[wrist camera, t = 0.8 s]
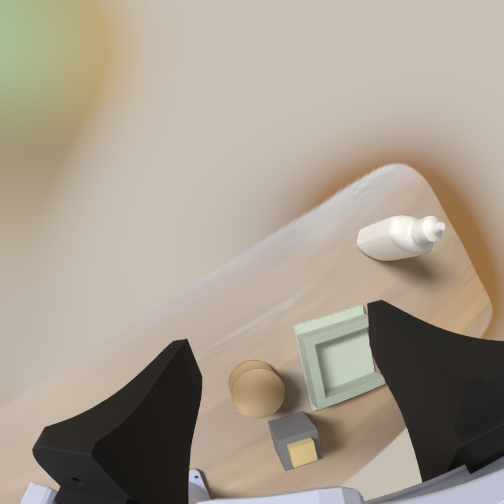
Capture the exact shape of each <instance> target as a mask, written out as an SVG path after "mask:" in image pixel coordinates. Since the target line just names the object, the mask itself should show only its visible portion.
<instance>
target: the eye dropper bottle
mask: <svg viewBox="0 0 504 504" xmlns="http://www.w3.org/2000/svg"><path fill="white" fill-rule="evenodd" d="M443 230H445V224H444V223H443V222H439V221H438V219H437V218H435V217H433V216H427V217H424V218H422V219H416V218H414V217H410V216H393V217H390V218H387V219H384V220H382V221H379V222H377V223H374V224H372V225H370V226H367V227H365V228H362V229H361V230H360V231H359V235H358V239H357V246H358V248H359V249H360V250H361V251H362V252H363V253H365V254H366V255H367V256H369V257H371V258H373V259H376V260H381V261H393V260H398V259H404V258H409V257H415V256H420V255H424V254H428V253H429V252H431V250H432V247H433V243H436V242H438V241H439V240H440V238H441V236H442V231H443Z"/></svg>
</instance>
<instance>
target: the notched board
mask: <svg viewBox="0 0 504 504" xmlns="http://www.w3.org/2000/svg"><path fill="white" fill-rule="evenodd" d="M367 327H369V324H368V314H364V310H363V305H357V306H354V307H351V308H348V309H345V310H342V311H338V312H335V313H332V314H329V315H325V316H322V317H319V318H315V319H312V320H308V321H305V322H302V323H298V324H294V325H293V329H294V333H295V338H296V342H297V346H298V351H299V355H300V360H301V364H302V369H303V373H304V378H305V382H306V387H307V391H308V396H309V401H310V405H311V409H312V410H313V411H315V410H320V409H323V408H325V407H328V406H331V405H334V404H337V403H339V402H342V401H344V400H347V399H350V398H352V397H355V396H357V395H360V394H362V393H365V392H367V391H369V390H372V389H374V388H377V387H379V386H381V385H383V384H385V379H384V378H383V376H382V375H381V374H379V373H377V372H375V371H374V365H373V359H372V353H371V348H370V346H369V336H368V331H367Z"/></svg>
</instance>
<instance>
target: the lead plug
mask: <svg viewBox="0 0 504 504" xmlns="http://www.w3.org/2000/svg"><path fill="white" fill-rule="evenodd" d="M268 424H269V428H270V431H271V435H272V439H273V443H274V446H275V450H276V452H277V454H278V456H279V458H280V461H281V463H282V465H283V467H284V469H285V471H287V470H291V469H294V468H297V467H300V466H303V465H306V464H309V463H312V462H315V461H318V460H321V459H323V455H322V450H321V446H320V441H319V436H318V431H317V428H316V426H315V425H314V424H313V423H312V422H311V421H310V419H309V418H308V417H307V416H306V415H305V413H304V412H303V411H302V412H298V413H295V414H292V415H289V416H285V417H282V418H279V419H275V420H272V421H268Z"/></svg>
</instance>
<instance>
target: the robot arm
mask: <svg viewBox="0 0 504 504" xmlns="http://www.w3.org/2000/svg"><path fill="white" fill-rule="evenodd" d="M367 306H368V324H369V346H370V348H371V351H372V354H373V357H374V359H375V362H376V364H377V366H378V368H379V370H380V372H381V374H382V376H383V378H384V379H385V381H386V383H387V385H388V387H389V389H390V391H391V392H392V394H393V396H394V398H395V400H396V402H397V404H398V406H399V408H400V410H401V413H402V415H403V418H404V421H405V424H406V426H407V429H408V432H409V435H410V438H411V442H412V445H413V448H414V451H415V455H416V459H417V462H418V466H419V470H420V474H421V478H422V483H420V484H418V485H415V486H412V487H409V488H406V489H403V490H401V491H398V492H395V493H391V494H388V495H385V496H382V497H378V498H375V499H371V500H368V501H364V500H363V496H362V495H361V494H360V492H359V491H358V490H356V489H353V488H347V487H341V486H334V487H323V488H315V489H309V490H303V491H297V492H290V493H282V494H274V495H264V496H253V497H239V498H218V499H211V498H210V496H209V493H208V491H207V489H206V486H205V484H204V481H203V479H202V477H201V474H200V472H199V471H198V470H196V469H194V470H189V465H190V452H191V444H192V439H193V434H194V429H195V425H196V420H197V416H198V411H199V406H200V401H201V394H202V375H201V372H200V370H199V367H198V365H197V362H196V360H195V357H194V355H193V352H192V350H191V347H190V345H189V342H188V339H183V340H176V341H173V342H172V343H170V344H169V345H168V346H167V347H166V348H165V349H164V350H163V351H162V352H161V353H160V354H159V355H158V356H157V357H156V358H155V359H154V360H153V361H152V362H151V363H150V364H149V365H148V366H147V367H146V368H145V369H144V370H143V371H142V372H140V373H139V374H138V375H137V376H136V377H135V378H134V379H133V380H132V381H130V382H129V383H128V384H127V385H126V386H124V387H123V388H122V389H121V390H119V391H118V392H116V393H115V394H114V395H112V396H111V397H109V398H108V399H106V400H105V401H103V402H101V403H100V404H98V405H96V406H95V407H93V408H91V409H89V410H87V411H85V412H83V413H81V414H79V415H77V416H75V417H72V418H70V419H67V420H65V421H62V422H59V423H56V424H53V425H50V426H47V427H45V428H44V430H43V431H42V433H41V435H40V437H39V438H38V440H37V442H36V443H35V445H34V447H33V449H32V452H33V455H34V457H35V459H36V461H37V462H38V463H39V465H40V466H41V467H42V468H43V469H44V470H45V471H46V472H47V473H48V474H49V475H50V476H51V477H52V478H53V479H54V480H55V481H56V482H57V483H58V484H59V485H60V486H61V487H60V489H59V491H58V492H57V491H56V490H54V489H52V488H49V487H46V486H43V485H40V484H37V483H33V482H31V483H30V485H29V487H28V489H27V491H26V493H25V495H24V497H23V499H22V501H21V503H20V504H504V341H495V340H485V339H479V338H474V337H469V336H464V335H460V334H457V333H453V332H450V331H447V330H444V329H441V328H439V327H436V326H434V325H431V324H429V323H427V322H424V321H422V320H420V319H418V318H416V317H414V316H412V315H410V314H408V313H406V312H404V311H402V310H400V309H398V308H397V307H395V306H393V305H391V304H389V303H387V302H385V301H383V300H379V301H375V302H372V303H368V304H367ZM195 476H199V477H195Z"/></svg>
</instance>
